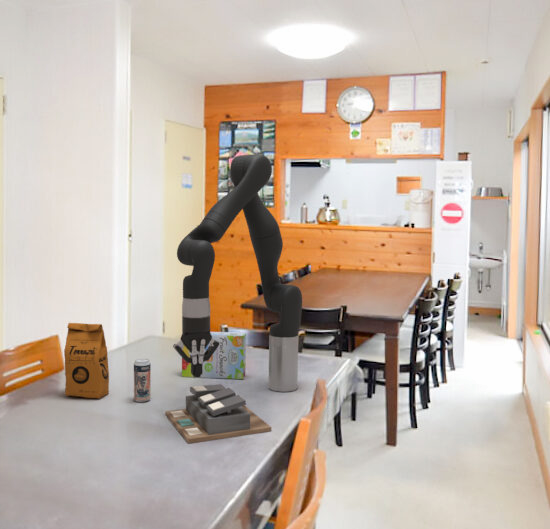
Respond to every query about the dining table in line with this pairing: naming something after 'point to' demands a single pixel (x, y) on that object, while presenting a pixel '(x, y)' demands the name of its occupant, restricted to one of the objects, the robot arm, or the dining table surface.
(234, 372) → the snack box
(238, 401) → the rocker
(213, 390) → the rocker
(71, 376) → the coffee package
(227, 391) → the block
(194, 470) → the dining table surface
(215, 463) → the dining table surface
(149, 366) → the beer can
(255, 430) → the switch panel
